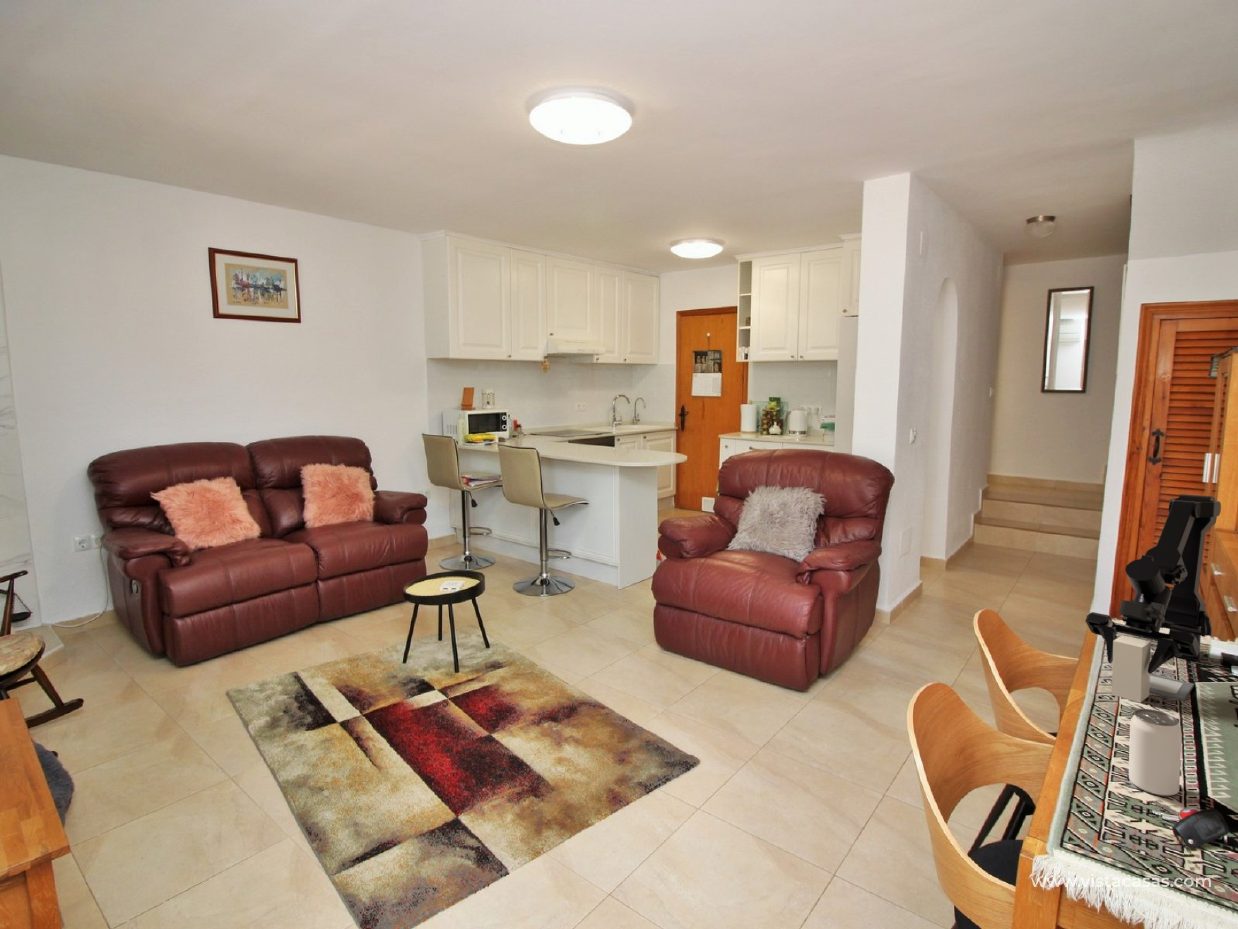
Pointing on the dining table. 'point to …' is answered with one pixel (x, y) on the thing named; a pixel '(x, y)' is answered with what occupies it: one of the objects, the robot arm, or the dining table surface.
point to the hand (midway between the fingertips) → (1128, 667)
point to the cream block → (1131, 668)
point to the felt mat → (1169, 687)
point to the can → (1155, 752)
